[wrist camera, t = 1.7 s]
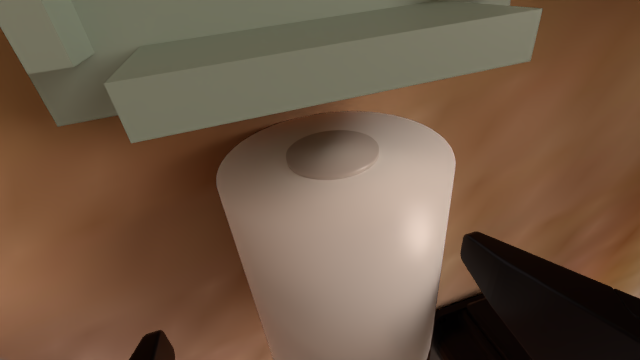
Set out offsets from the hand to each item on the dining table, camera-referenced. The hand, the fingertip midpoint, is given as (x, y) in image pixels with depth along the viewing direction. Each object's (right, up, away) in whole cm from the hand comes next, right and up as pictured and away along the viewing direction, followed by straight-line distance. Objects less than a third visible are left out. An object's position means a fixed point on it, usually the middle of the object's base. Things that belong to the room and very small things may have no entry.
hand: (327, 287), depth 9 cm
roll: (-1, +2, +3) cm, 4 cm away
